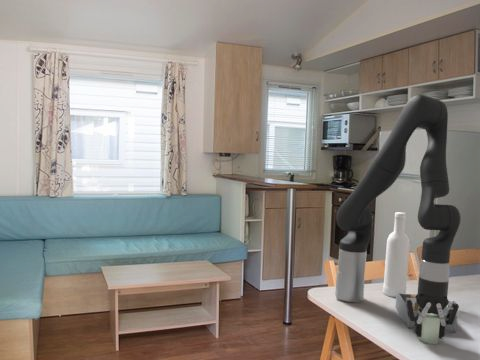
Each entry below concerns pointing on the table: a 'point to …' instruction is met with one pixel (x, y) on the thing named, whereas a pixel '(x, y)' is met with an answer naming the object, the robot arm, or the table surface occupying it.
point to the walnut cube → (415, 303)
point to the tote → (410, 324)
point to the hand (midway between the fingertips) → (428, 336)
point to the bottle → (396, 258)
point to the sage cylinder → (430, 329)
